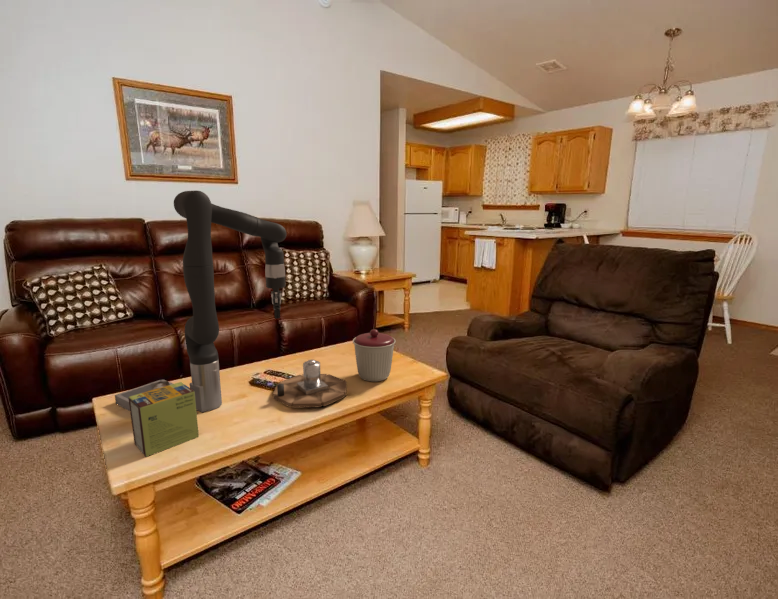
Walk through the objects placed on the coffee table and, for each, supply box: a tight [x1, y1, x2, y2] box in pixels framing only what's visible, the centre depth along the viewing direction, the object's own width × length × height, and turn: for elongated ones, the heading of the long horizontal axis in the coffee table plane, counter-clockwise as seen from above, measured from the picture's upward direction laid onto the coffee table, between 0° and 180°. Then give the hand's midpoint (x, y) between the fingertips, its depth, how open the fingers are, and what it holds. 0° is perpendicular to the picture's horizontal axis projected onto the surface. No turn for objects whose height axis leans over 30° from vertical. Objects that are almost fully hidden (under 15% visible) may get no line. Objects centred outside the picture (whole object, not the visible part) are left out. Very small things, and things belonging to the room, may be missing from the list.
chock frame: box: [114, 379, 174, 412], centre depth 153 cm, size 17×15×4 cm
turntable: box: [272, 373, 347, 409], centre depth 160 cm, size 27×27×5 cm
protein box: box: [128, 381, 200, 458], centre depth 126 cm, size 10×15×16 cm
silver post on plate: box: [297, 359, 328, 395], centre depth 159 cm, size 9×9×11 cm
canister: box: [352, 328, 397, 382], centre depth 175 cm, size 18×18×21 cm
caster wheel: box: [147, 380, 170, 392], centre depth 150 cm, size 7×11×10 cm
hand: (277, 317), depth 166 cm, fingers closed
